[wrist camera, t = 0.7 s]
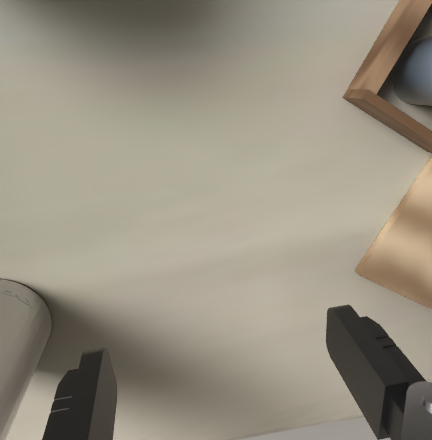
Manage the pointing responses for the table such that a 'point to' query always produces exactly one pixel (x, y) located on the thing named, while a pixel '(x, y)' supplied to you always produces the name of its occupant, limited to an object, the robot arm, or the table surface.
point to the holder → (380, 68)
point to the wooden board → (405, 245)
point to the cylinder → (414, 72)
